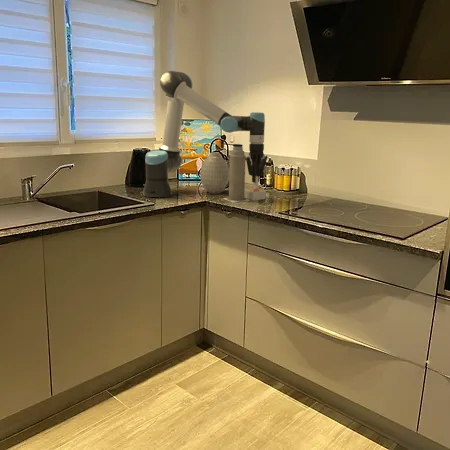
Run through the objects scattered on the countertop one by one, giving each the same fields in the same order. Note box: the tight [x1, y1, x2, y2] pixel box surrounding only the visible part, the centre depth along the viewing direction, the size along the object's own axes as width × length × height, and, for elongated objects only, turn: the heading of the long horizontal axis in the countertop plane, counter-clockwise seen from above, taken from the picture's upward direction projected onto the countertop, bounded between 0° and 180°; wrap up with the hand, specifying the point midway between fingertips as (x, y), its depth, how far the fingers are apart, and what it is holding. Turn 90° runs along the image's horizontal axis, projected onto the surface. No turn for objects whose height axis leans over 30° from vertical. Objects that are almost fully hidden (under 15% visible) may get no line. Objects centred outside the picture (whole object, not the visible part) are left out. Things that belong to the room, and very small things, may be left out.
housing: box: [244, 189, 267, 201], centre depth 247 cm, size 8×8×4 cm
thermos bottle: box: [228, 143, 246, 200], centre depth 239 cm, size 8×8×28 cm
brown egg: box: [250, 187, 260, 192], centre depth 247 cm, size 4×4×4 cm
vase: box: [199, 151, 230, 195], centre depth 259 cm, size 16×16×22 cm
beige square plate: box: [223, 197, 251, 203], centre depth 243 cm, size 10×10×1 cm
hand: (255, 188), depth 246 cm, fingers closed
